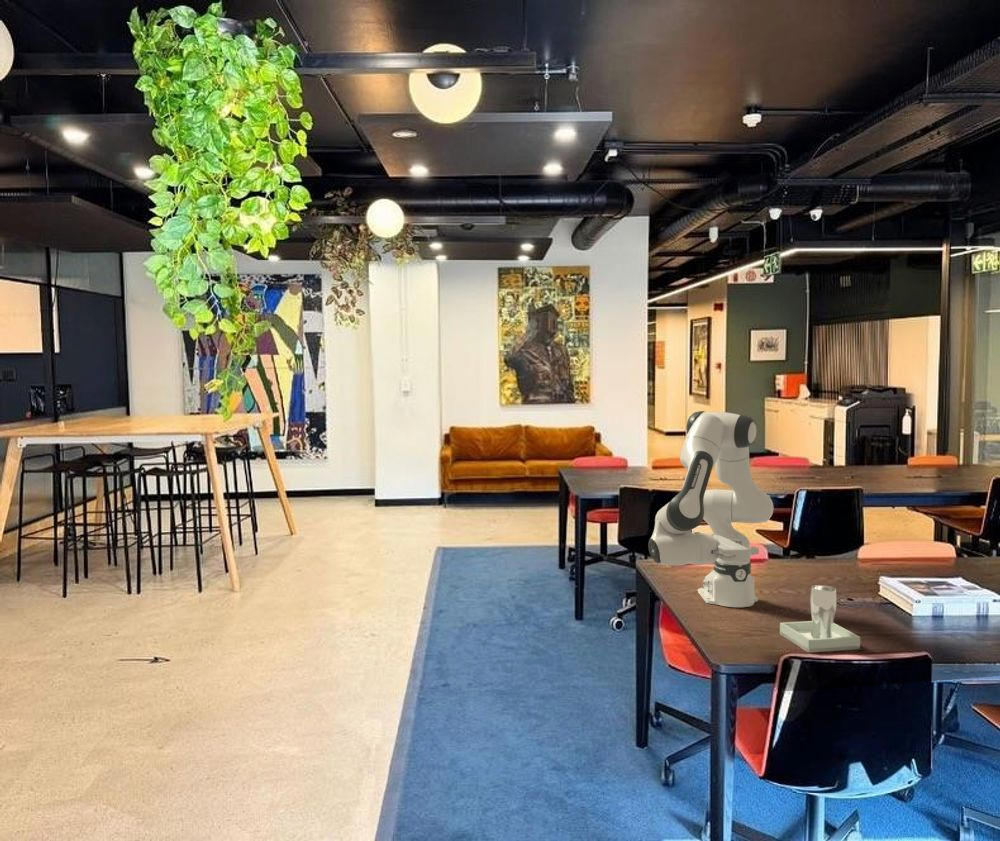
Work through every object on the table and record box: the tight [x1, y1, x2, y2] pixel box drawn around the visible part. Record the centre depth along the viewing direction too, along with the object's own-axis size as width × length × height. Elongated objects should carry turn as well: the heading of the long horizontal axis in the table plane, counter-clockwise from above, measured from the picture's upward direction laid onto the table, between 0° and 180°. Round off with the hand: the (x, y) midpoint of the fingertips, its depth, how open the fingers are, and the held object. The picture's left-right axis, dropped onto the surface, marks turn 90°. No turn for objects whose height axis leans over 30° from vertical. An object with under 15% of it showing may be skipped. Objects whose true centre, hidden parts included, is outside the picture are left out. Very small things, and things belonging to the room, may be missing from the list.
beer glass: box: [809, 584, 837, 639], centre depth 210 cm, size 7×7×15 cm
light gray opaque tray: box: [779, 620, 861, 653], centre depth 211 cm, size 15×16×4 cm
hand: (749, 546), depth 211 cm, fingers open, 8 cm apart
